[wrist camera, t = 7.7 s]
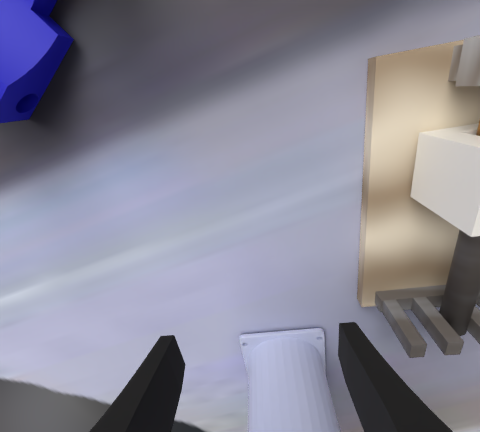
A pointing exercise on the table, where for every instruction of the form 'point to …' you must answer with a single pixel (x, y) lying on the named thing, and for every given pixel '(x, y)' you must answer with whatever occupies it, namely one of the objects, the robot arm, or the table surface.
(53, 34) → the blue stepped block
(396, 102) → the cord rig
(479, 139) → the cord end block
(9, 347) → the table surface
